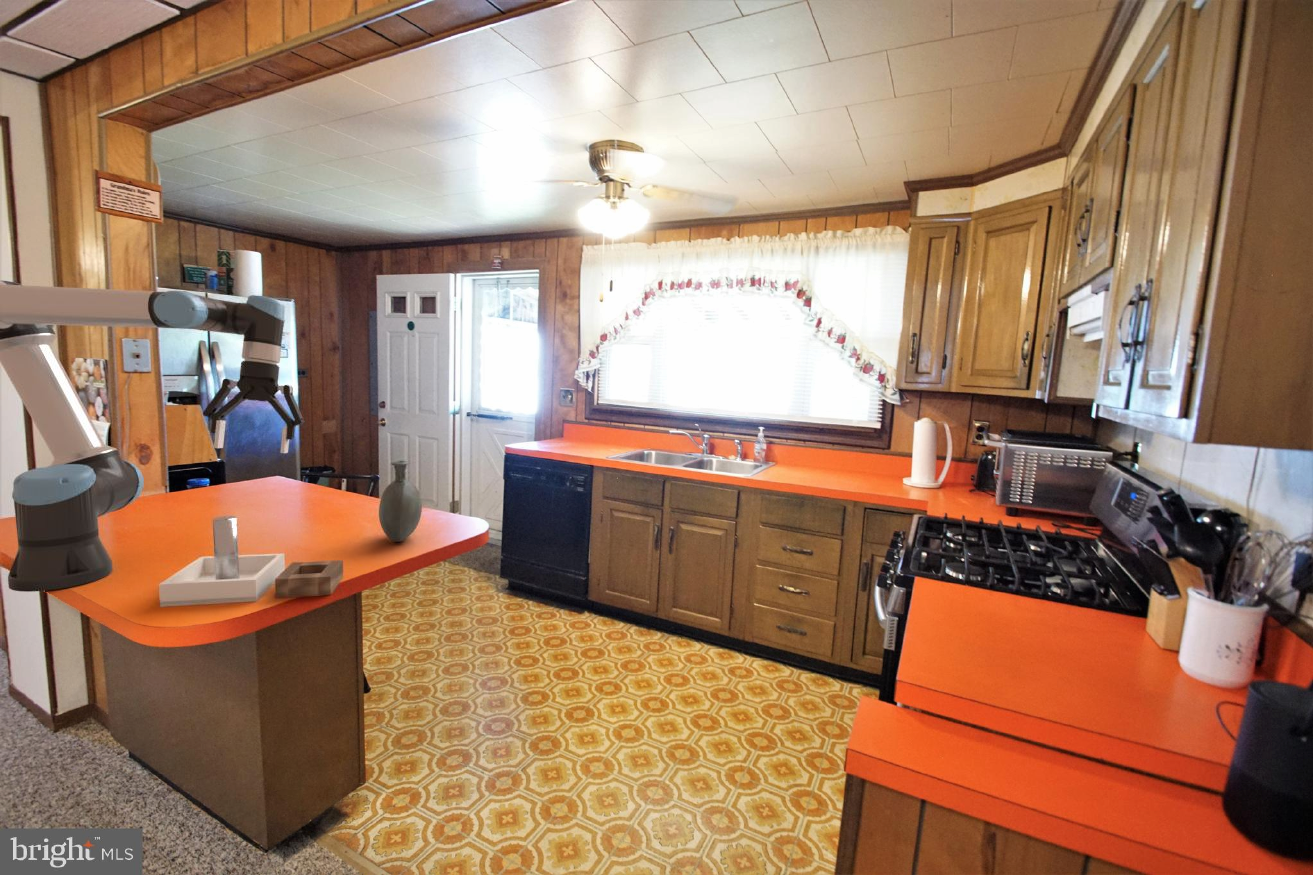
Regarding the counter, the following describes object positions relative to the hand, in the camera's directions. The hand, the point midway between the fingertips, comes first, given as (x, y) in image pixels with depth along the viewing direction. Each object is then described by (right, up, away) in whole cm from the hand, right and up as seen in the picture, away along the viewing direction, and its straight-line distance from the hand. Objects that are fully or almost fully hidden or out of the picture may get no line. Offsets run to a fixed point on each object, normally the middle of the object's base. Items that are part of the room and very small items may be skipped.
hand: (251, 450), depth 134 cm
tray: (+7, -29, -16) cm, 34 cm away
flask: (+27, -25, +20) cm, 42 cm away
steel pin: (+7, -28, -17) cm, 33 cm away
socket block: (+23, -29, -14) cm, 39 cm away
